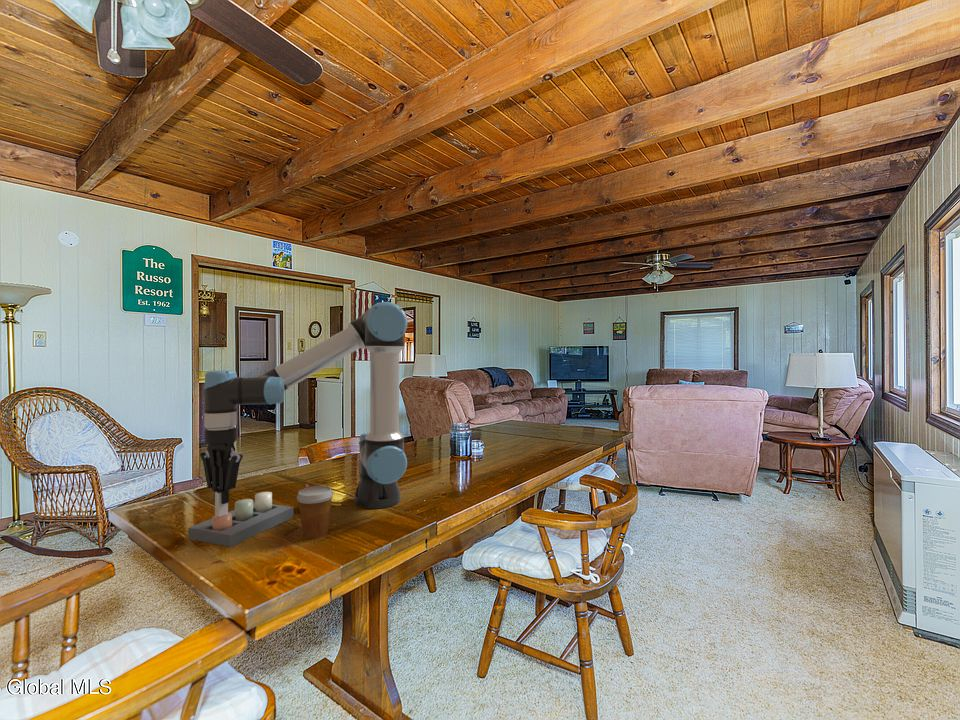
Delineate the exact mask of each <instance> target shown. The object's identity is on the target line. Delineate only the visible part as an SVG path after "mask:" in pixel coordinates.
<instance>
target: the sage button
mask: <svg viewBox="0 0 960 720" xmlns="http://www.w3.org/2000/svg"><path fill="white" fill-rule="evenodd" d="M253 502H254V500H253V499H252V498H243V499H239V500H236V501H235V502H234V510H235V520H237V521H243V522H244V521H246V520H248V519H251V518H253Z"/></svg>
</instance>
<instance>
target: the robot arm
mask: <svg viewBox="0 0 960 720" xmlns="http://www.w3.org/2000/svg"><path fill="white" fill-rule="evenodd" d="M407 327H408V316H407V314H406V313H405V311H404V310H403V308H402V307H401V306H399V305H398V304H396V303H393V302H389V301H383V302H382V301H380V302H376V303H375V304H373V305H372V306H371V307H370V308H368V309H367V310H366V311H365V312H363V314H361V315H360V316H358V317H357V318H356V319H354V320H353V321H351V322H349V323H348V325H347V327H345V329H343V330H341V331H339V332H337V333H335V334H334V335H332V336H330V337H328V338H326V339H324V340H323V341H321V342H319V343H317V344H316V345H314V346H312V347H309V348H308V349H306V350H304V351H303V352H301V353H299V354H297V355H296V356H294V357H292V358H289V359H288V360H286V361H284V362H283V363H281V364H279V365H278V366H276V367H274V368H271V369H270V370H268V371H266V372H264V373H262V374H260V375H259V376H255V377H254V376H253V377H252V376H251V377H238V375H237V371H236V370H232V369H231V370H227V369H226V370H209V371H207V372H205V375H204V386H203V393H204V394H203V396H204V417H203V418H204V422H203V423H204V425H203V427H204V428H206V429H205V430H204V443H205V444H206V445H207V447H206V450H205V451H202V452H200V454H199V457H200V459H201V460H202V464H203V468H204V469H203V470H204V475H205V480H206V487H207V488H208V489H211V490H212V491H213V502H214V515H215V516H216V517H221V516H223V515H226V514H228V512H229V503H230V491H231V490H233V489H235V488H236V485H237V481H238V475H239V470H240V465H241V464H240V463H241V462H242V459H244V458H243V457H244V456H243V454H241V453H237V452H236V447H235V442H236V441H237V439H238V434H237V433H238V428H237V427H236V426H237V424H238V422H237V419H238V417H237V416H238V415H237V411H238V408H237V406H245V405H248V406H249V405H270V406H271V405H274V404H282V403H283V402H284V401H285V391H287V390H288V389H291V388H292V387H294V386H296V385H297V384H299V383H301V382H303V381H304V380H306V379H307V378H309V377H311V376H313V375H314V374H316V373H318V372H320V371H322V370H324V369H325V368H328V367H329V366H331V365H332V364H335V363H336V362H339V360H341V359H343V358H345V357H346V356H348V355H350V354H352V353H354V352H355V351H358V350H359V349H363V350H367V351H368V352H369V356H370V361H369V362H370V363H369V364H370V366H369V368H370V369H369V370H370V373H369V375H370V376H369V377H370V378H369V379H370V380H369V382H370V383H369V384H370V385H369V387H370V388H369V389H370V390H369V391H370V392H369V395H370V396H369V402H370V404H369V405H370V406H369V409H370V410H369V412H370V413H369V419H370V421H369V423H370V424H369V425H370V426H369V430H370V431H369V432H365V433H364V432H363V433H361V434H360V435H359V440H358V445H359V450H358V451H359V456H358V458H359V479H358V484H357V487H356V488H355V489H356V490H355V493H354V497H353V499H354V500H353V501H354V502H353V503H354V505H355V506H357V507H359V508H364V509H383V508H389V507H392V506H394V505H397V504H399V503H400V502H401V501H402V500H401V499H402V497H401V496H402V494H401V493H402V492H401V490H400V487H399V484H398V481H399V480H400V479H401V478H402V477H403V475H405V472H406V470H407V467H408V459H407V455H406V453H405V436H404V434H403V433H401V431H400V352H401V351H402V350H403V349H404V348H405V333H406V332H407V329H408V328H407Z"/></svg>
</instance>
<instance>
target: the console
mask: <svg viewBox="0 0 960 720" xmlns="http://www.w3.org/2000/svg"><path fill="white" fill-rule="evenodd" d="M228 513H232V527H229V528H227V529H225V530H222V531H217V530H213V528H212V518H210V519H207V520H204V521H202V522H200V523H199V522H198V523H197V524H194V525H192V526H190V527H188V528H187V529H188V530H187V531H188V540H192V539H193V540H192V541H198V542H203V543H209V544H214V545H218V546H224V547H228V548H231V547H234V546H236V545H237V544H240V543H243V542H244V541H246V540H249V539H250V538H252V537H254V536H257V535H258V534H261V533H264V532H265V531H267V530H269V529H271V528H273V527H276V526H277V525H279V524H282V523H283V522H287V521H289V520H290V519H293V518H294V507H293V506H288V505H280V504H276V503H275V504H274V503H272V510H269V511H267V512H265V513H260V512H255V501H253V518H251V519H248V520H246V521H244V522H243V521H237V520H235V509H234V510H230V511H228Z"/></svg>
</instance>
